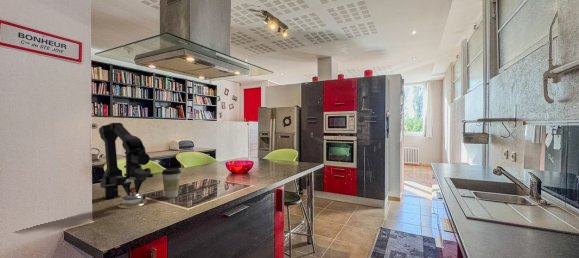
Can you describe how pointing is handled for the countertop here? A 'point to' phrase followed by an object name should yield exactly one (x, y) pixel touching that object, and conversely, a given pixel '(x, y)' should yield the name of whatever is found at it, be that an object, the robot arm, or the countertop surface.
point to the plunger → (133, 193)
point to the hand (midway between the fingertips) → (132, 194)
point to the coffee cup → (171, 182)
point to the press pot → (133, 201)
